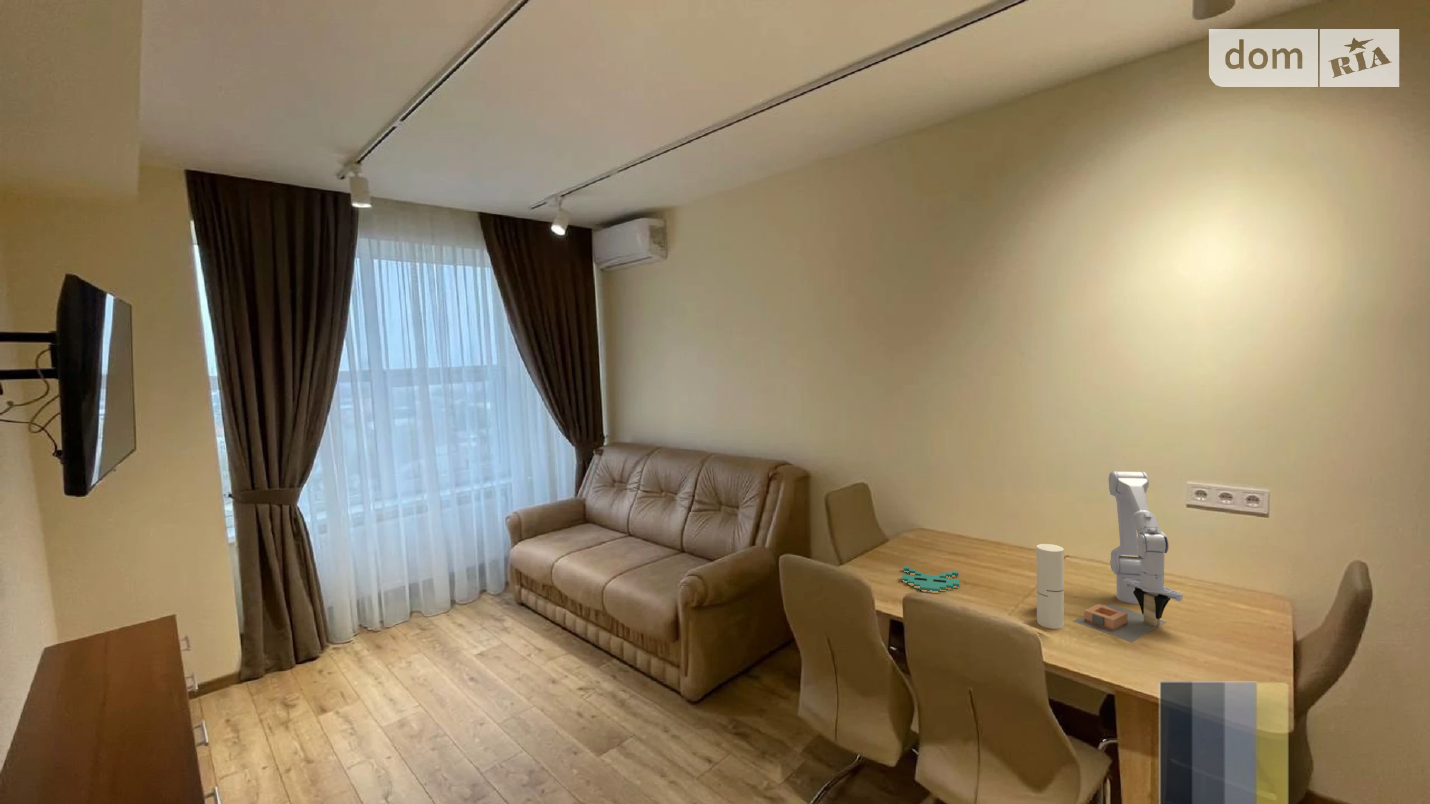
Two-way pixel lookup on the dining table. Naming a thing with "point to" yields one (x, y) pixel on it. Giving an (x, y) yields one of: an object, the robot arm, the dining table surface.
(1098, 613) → the terracotta square frame
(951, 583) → the alien figure
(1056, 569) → the cylindrical container
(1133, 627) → the slate board
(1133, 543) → the robot arm
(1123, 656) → the dining table surface
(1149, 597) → the tan rectangular block
